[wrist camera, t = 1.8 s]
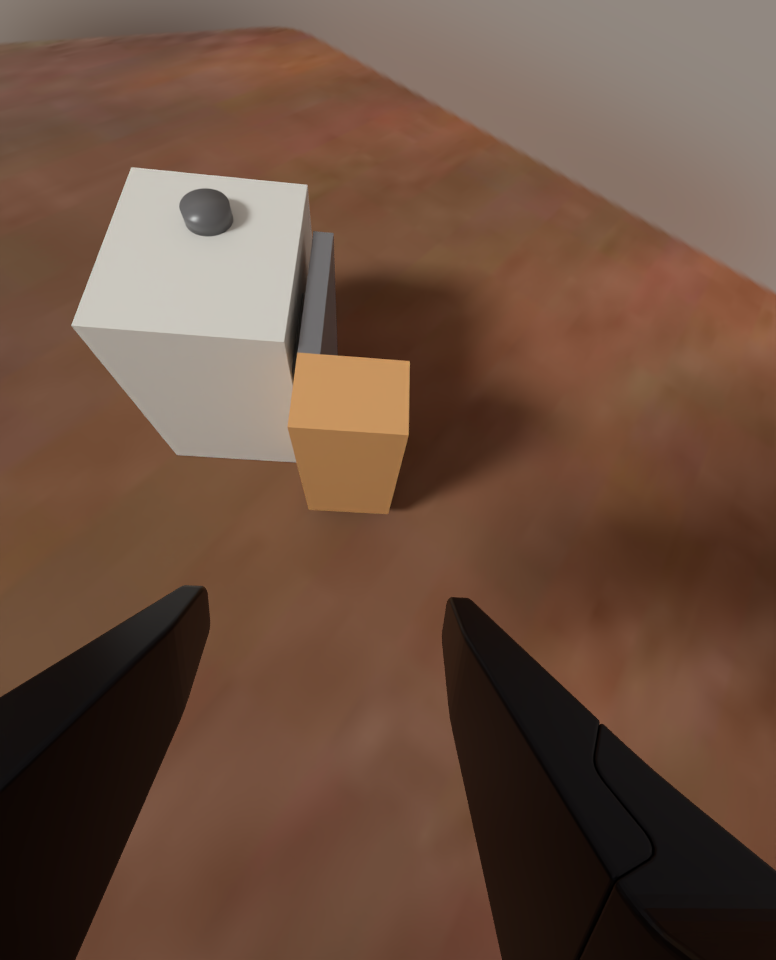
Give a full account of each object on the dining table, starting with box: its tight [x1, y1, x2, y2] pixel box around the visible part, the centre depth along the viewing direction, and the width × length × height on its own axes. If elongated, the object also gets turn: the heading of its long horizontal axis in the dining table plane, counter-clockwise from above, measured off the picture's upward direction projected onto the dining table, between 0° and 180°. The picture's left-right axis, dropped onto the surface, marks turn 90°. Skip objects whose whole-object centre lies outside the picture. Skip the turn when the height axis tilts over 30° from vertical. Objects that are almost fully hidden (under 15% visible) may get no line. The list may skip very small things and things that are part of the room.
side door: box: [287, 231, 410, 514], centre depth 21 cm, size 9×4×8 cm, turn 178°
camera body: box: [71, 167, 312, 462], centre depth 21 cm, size 10×7×11 cm
